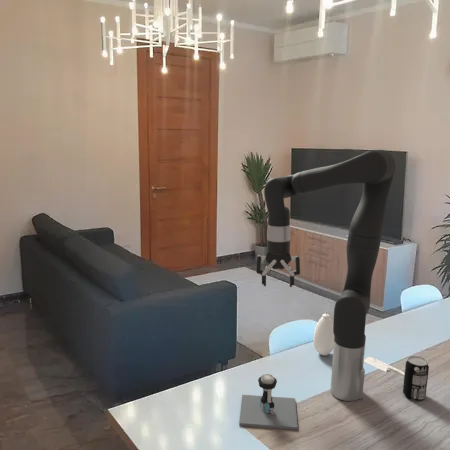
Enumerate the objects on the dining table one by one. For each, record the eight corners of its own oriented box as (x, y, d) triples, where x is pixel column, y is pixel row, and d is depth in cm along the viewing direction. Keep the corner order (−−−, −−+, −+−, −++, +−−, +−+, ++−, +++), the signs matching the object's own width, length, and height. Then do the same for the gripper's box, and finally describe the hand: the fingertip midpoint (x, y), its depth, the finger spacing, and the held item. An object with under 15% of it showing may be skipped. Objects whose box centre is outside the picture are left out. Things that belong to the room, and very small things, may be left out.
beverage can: (408, 387, 149) (411, 353, 146) (428, 396, 144) (433, 360, 142) (398, 395, 144) (402, 360, 142) (419, 404, 140) (424, 368, 137)
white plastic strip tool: (398, 380, 154) (399, 377, 154) (361, 362, 166) (361, 359, 165) (407, 376, 157) (408, 373, 156) (370, 358, 169) (370, 355, 168)
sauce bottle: (308, 354, 170) (311, 308, 166) (319, 347, 175) (322, 302, 172) (327, 361, 165) (331, 314, 161) (338, 354, 170) (341, 307, 167)
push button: (281, 414, 133) (282, 382, 131) (264, 418, 131) (265, 386, 129) (270, 401, 139) (271, 371, 137) (254, 405, 137) (255, 374, 135)
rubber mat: (294, 400, 141) (295, 398, 141) (297, 429, 127) (297, 427, 127) (242, 396, 142) (242, 394, 142) (239, 425, 129) (239, 423, 128)
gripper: (256, 240, 149) (256, 289, 152) (301, 241, 147) (300, 290, 150) (257, 235, 156) (256, 282, 159) (299, 236, 155) (298, 283, 158)
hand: (277, 286), depth 155 cm, fingers open, 8 cm apart
